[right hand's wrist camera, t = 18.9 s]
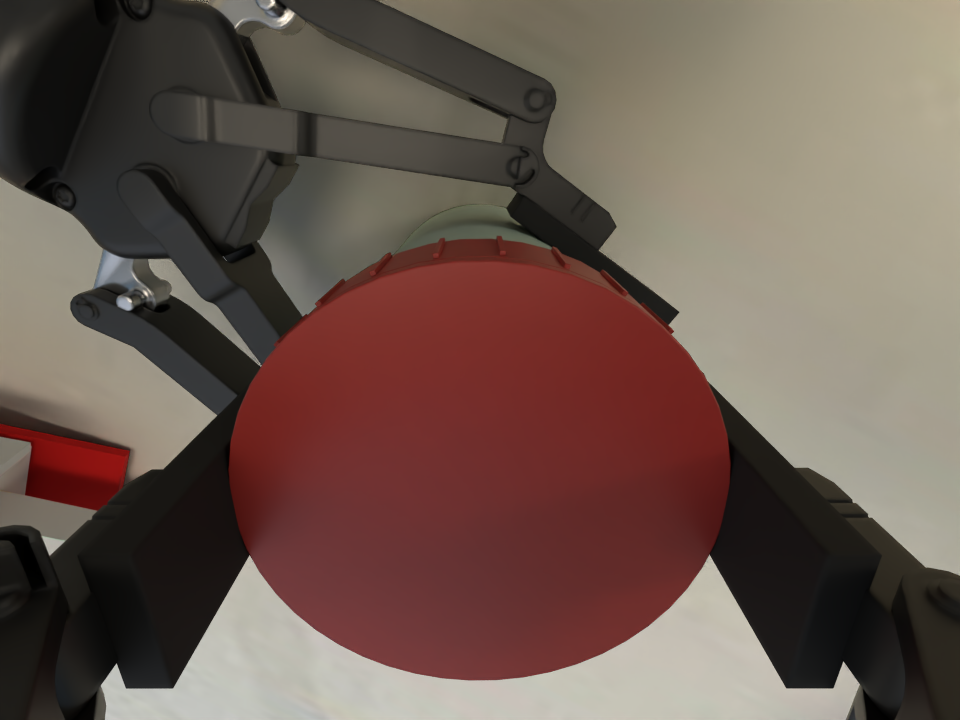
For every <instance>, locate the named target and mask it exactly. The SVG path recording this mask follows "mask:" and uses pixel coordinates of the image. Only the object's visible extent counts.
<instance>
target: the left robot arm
mask: <svg viewBox="0 0 960 720" xmlns="http://www.w3.org/2000/svg"><path fill="white" fill-rule="evenodd" d="M306 22H307V23H308V24H309V25H311V26H312V27H313V28H315V29H316V30H318V31H319V32H321V33H322V34H324V35H325V36H326V37H328V38H330V39H332V40H334V41H336V42H338V43H339V44H341V45H344V46H346V47H348V48H350V49H352V50H355V51H357V52H359V53H361V54H364V55H366V56H368V57H370V58H373V59H375V60H377V61H379V62H381V63H384V64H386V65H388V66H390V67H393V68H395V69H397V70H399V71H401V72H404V73H406V74H408V75H410V76H413V77H415V78H417V79H419V80H422V81H424V82H426V83H428V84H430V85H433V86H435V87H437V88H439V89H442V90H444V91H446V92H448V93H451V94H453V95H455V96H457V97H459V98H462V99H464V100H466V101H468V102H471V103H473V104H475V105H477V106H479V107H482V108H484V109H486V110H488V111H491V112H493V113H495V114H497V115H500V116H502V117H504V118H506V119H508V120H507V124H506V128H505V132H504V135H503V139H502V143H497V142H491V141H485V140H478V139H472V138H466V137H459V136H453V135H447V134H440V133H434V132H427V131H421V130H415V129H408V128H402V127H396V126H389V125H383V124H377V123H370V122H364V121H358V120H351V119H345V118H339V117H332V116H326V115H320V114H314V113H308V112H303V111H297V110H291V109H284V108H281V106H280V104H279V102H278V99H277V97H276V95H275V93H274V90H273V88H272V86H271V84H270V81H269V79H268V77H267V74H266V72H265V70H264V68H263V65H262V63H261V61H260V59H259V56H258V54H257V52H256V50H255V47H254V45H253V43H252V41H251V39H250V36H251V34H252V33H253V32H254V31H256V30H258V29H259V28H270V29H273V30H274V31H276V32H278V33H280V34H282V35H286V36H290V35H294V34H296V33H298V32H299V31H300V30H301V29H302V28H303V26H304V25H305V23H306ZM555 104H556V93H555V90H554V88H553V86H552V85H551V83H549V82H548V81H547V80H545V79H544V78H542V77H540V76H538V75H535V74H533V73H531V72H529V71H527V70H525V69H522V68H520V67H518V66H516V65H514V64H512V63H510V62H507V61H505V60H503V59H501V58H499V57H497V56H495V55H492V54H490V53H488V52H486V51H484V50H482V49H480V48H477V47H475V46H473V45H471V44H469V43H467V42H464V41H462V40H460V39H458V38H456V37H454V36H452V35H449V34H447V33H445V32H443V31H441V30H439V29H437V28H434V27H432V26H430V25H428V24H426V23H424V22H422V21H419V20H417V19H415V18H413V17H411V16H409V15H406V14H404V13H402V12H400V11H398V10H396V9H394V8H391V7H389V6H387V5H385V4H383V3H381V2H379V1H376V0H210V1H209V3H208V4H206V3H202V2H198V1H189V0H0V178H2V179H4V180H5V181H7V182H9V183H10V184H12V185H14V186H15V187H17V188H19V189H21V190H23V191H25V192H27V193H29V194H31V195H33V196H35V197H37V198H39V199H42V200H44V201H46V202H48V203H51V204H53V205H55V206H57V207H59V208H61V209H63V210H65V211H67V212H69V213H70V214H72V215H73V216H74V217H75V218H76V219H77V220H78V221H79V222H80V223H81V224H82V225H83V226H84V227H85V228H86V229H87V231H88V232H89V233H90V235H91V236H92V237H93V239H94V240H95V241H96V242H97V243H98V245H99V246H101V247H102V248H103V253H102V257H101V261H100V265H99V269H98V272H97V276H96V280H95V284H94V287H93V289H92V290H89V291H86V292H83V293H80V294H78V295H76V296H75V297H73V299H72V301H71V311H72V314H73V316H74V317H75V318H76V319H77V321H78V322H80V323H82V324H83V325H85V326H87V327H89V328H91V329H94V330H96V331H98V332H101V333H103V334H105V335H107V336H110V337H112V338H114V339H117V340H119V341H121V342H123V343H126V344H128V345H130V346H132V347H134V348H135V349H137V350H138V351H139V352H140V353H142V354H143V355H144V356H145V357H146V358H148V359H149V360H150V361H151V362H153V363H154V364H155V365H156V366H157V367H159V368H160V369H161V370H162V371H164V372H165V373H166V374H167V375H169V376H170V377H171V378H172V379H173V380H175V381H176V382H177V383H178V384H180V385H181V386H182V387H183V388H184V389H186V390H187V391H188V392H189V393H191V394H192V395H193V396H194V397H196V398H197V399H198V400H199V401H200V402H202V403H203V404H204V405H205V406H207V407H208V408H209V409H210V410H212V411H213V412H214V413H215V414H216V415H219V414H220V413H221V412H222V411H223V410H224V409H225V408H226V407H227V406H228V405H229V404H230V403H231V402H232V401H233V400H234V399H235V398H236V397H237V396H238V395H239V394H240V393H241V392H242V391H243V390H244V389H245V388H246V387H247V386H248V385H249V384H250V383H251V382H252V380H253V379H254V377H255V376H256V374H257V373H258V371H259V369H260V368H261V367H260V366H259V365H258V364H257V363H255V362H254V361H253V360H252V359H251V358H250V357H249V356H247V355H246V354H245V353H244V352H243V351H242V350H240V349H239V348H238V347H237V346H236V345H235V344H234V343H232V342H231V341H230V340H229V339H228V338H227V337H226V336H224V335H223V334H222V333H221V332H220V331H219V330H218V329H216V328H215V327H214V326H213V325H212V324H211V323H210V322H208V321H207V320H206V319H205V318H204V317H203V316H201V315H200V314H199V313H198V312H196V311H195V310H194V309H193V308H191V307H190V306H189V305H187V304H185V303H184V302H182V301H181V300H179V299H177V298H175V297H173V296H172V295H170V292H171V291H172V287H171V284H170V283H169V282H168V281H166V280H161V279H159V278H158V277H157V276H155V275H154V273H153V272H152V271H151V269H150V267H149V263H148V259H172V260H173V262H174V263H175V264H176V266H177V267H178V268H179V270H180V271H181V272H182V274H183V275H184V276H185V278H186V279H187V280H188V282H189V283H190V284H191V285H192V287H193V288H194V289H195V291H196V292H197V293H198V294H199V295H200V296H201V298H203V299H204V300H206V301H208V302H211V303H214V304H215V305H217V306H218V308H219V309H220V310H221V311H222V313H223V314H224V315H225V317H226V318H227V319H228V321H229V322H230V323H231V325H232V326H233V327H234V329H235V330H236V331H237V333H238V334H239V335H240V337H241V338H242V339H243V341H244V342H245V343H246V345H247V346H248V347H249V349H250V350H251V351H252V353H253V354H254V355H255V357H256V358H257V359H258V361H259V362H260V363H261V365H263V363H264V362H265V360H266V358H267V357H268V356H269V355H270V354H271V353H272V351H273V350H274V349H275V348H276V347H275V346H274V344H275V342H276V341H277V340H278V339H280V338H281V337H282V336H283V335H284V334H285V333H286V332H287V331H288V330H289V329H290V328H292V327H293V326H294V325H295V324H296V323H297V322H298V321H299V320H300V319H301V318H302V315H301V314H300V312H299V311H298V310H297V308H296V307H295V305H294V304H293V302H292V301H291V299H290V298H289V297H288V295H287V294H286V292H285V291H284V289H283V288H282V287H281V285H280V284H279V282H278V281H277V279H276V278H275V276H274V275H273V273H272V268H271V263H270V260H269V258H268V257H267V255H266V254H265V252H264V251H263V249H262V248H261V246H260V245H259V243H258V242H257V240H260V238H261V236H262V234H263V232H264V231H265V229H266V227H267V225H268V223H269V220H270V215H271V210H272V205H273V201H274V199H275V198H276V197H277V196H278V195H279V194H280V193H281V192H282V191H283V190H284V189H285V188H286V187H287V186H288V185H289V184H290V182H291V180H292V178H293V176H294V174H295V172H296V170H297V169H298V167H299V165H298V164H297V163H295V158H296V155H300V156H309V157H317V158H324V159H331V160H337V161H344V162H350V163H357V164H363V165H370V166H376V167H383V168H389V169H396V170H402V171H409V172H416V173H422V174H429V175H435V176H442V177H448V178H455V179H461V180H468V181H474V182H481V183H487V184H494V185H500V186H507V187H511V188H512V189H514V190H515V191H516V192H517V194H516V195H515V197H514V198H513V200H512V201H511V202H510V204H509V205H508V207H507V208H506V209H507V211H508V213H509V215H510V217H511V218H513V219H514V220H515V221H517V222H518V223H519V224H521V225H522V226H524V227H525V228H526V229H528V230H529V231H530V232H532V233H533V234H535V235H536V236H537V237H539V238H540V239H541V240H543V241H544V242H545V243H547V244H548V245H550V246H551V247H556V248H557V249H558V250H559V251H560V252H561V253H562V254H564V255H566V256H569V257H571V258H573V259H576V260H578V261H581V262H583V263H584V264H586V265H588V266H589V267H591V268H593V269H595V270H596V271H598V272H601V270H604V271H606V272H607V273H608V274H609V275H610V276H611V277H612V278H613V279H614V280H616V281H617V282H618V283H619V284H620V285H621V286H622V287H623V288H624V289H625V290H626V291H627V292H628V294H629V295H630V296H631V297H633V298H634V299H635V300H636V301H637V302H638V303H639V304H641V303H642V302H643V303H644V304H645V305H646V306H647V307H649V308H650V309H651V310H652V311H653V312H654V313H655V314H656V315H657V316H658V317H660V318H661V319H662V320H663V321H664V322H665V323H666V324H667V325H669V324H670V322H671V321H672V320H673V319H674V318H675V317H676V316H677V314H678V313H679V311H677V310H676V309H675V308H674V307H672V306H671V305H670V304H669V303H667V302H666V301H665V300H663V299H662V298H661V297H660V296H658V295H657V294H656V293H655V292H653V291H652V290H651V289H649V288H648V287H647V286H645V285H644V284H643V283H641V282H640V281H639V280H637V279H636V278H635V277H633V276H632V275H631V274H629V273H628V272H627V271H625V270H624V269H622V268H621V267H620V266H618V265H617V264H616V263H614V262H613V261H612V260H610V259H609V258H608V257H606V256H605V255H604V254H602V253H601V252H600V251H598V250H599V249H600V248H601V246H602V245H603V244H604V242H605V241H606V240H607V239H608V237H609V236H610V235H611V233H612V232H613V231H614V230H615V228H616V225H615V223H614V221H613V219H612V217H611V216H610V214H609V212H607V211H606V210H605V209H604V208H602V207H601V206H600V205H598V204H597V203H596V202H594V201H593V200H592V199H591V198H589V197H588V196H587V195H585V194H584V193H583V192H582V191H580V190H579V189H578V188H576V187H575V186H574V185H572V184H571V183H570V182H569V181H567V180H566V179H565V178H563V177H562V176H561V175H560V174H558V173H557V172H556V171H554V170H553V169H552V168H551V167H550V166H549V165H548V163H547V162H546V160H545V157H544V154H543V142H544V138H545V134H546V131H547V127H548V124H549V120H550V117H551V113H552V112H553V110H554V109H555ZM223 256H224V257H225V258H226V260H227V261H226V260H225V259H224V258H223Z"/></svg>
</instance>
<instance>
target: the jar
mask: <svg viewBox="0 0 960 720" xmlns="http://www.w3.org/2000/svg"><path fill="white" fill-rule="evenodd" d="M497 236H502V239H503V240H507V241H516V242H524V243H527V244H531V245H535V246H539V247H543V248H547V249H552V247H551V246H550V245H548V244H547V243H545V242H544V241H543V240H541V239H540V238H539V237H537V236H536V235H535V234H533V233H532V232H530V231H529V230H528V229H526V228H525V227H524V226H522V225H521V224H519V223H518V222H517V221H515V220H514V219H513V218H511V217H510V215H509V213H508V211H507V209H506V208H505V207H500V206H495V205H485V204H474V205H464V206H460V207H455V208H452V209H449V210H446V211H444V212H441V213H439V214H437V215H436V216H434V217H432V218H430V219H429V220H427V221H426V222H425V223H423V224H422V225H421V226H419V227H418V228H417V229H416V230H415V231H414V232H413V233H412V234H411V235H410V237H409V238H408V239H407V240H406V241H405V242H404V243H403V245H402V246H401V247H400V248H399V249H398V250H397V252H396V253H395V254H397V253H399V252H403V251H406V250H410V249H413V248H416V247H420V246H423V245H427V244H431V243H438V241H439V239H440V238H445V241H451V240H458V239H496V238H497ZM395 254H394V255H395Z"/></svg>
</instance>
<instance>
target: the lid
mask: <svg viewBox="0 0 960 720" xmlns="http://www.w3.org/2000/svg"><path fill="white" fill-rule="evenodd" d="M315 305H316V306H317V307H316V308H315V309H314V310H313V311H312V312H311V313H310V314H309V315H307V314H306V315H305V316H303V317H302V318H301V319H300V320H299V321H298V322H297V323H296V324H295V325H294V326H293V327H292V328H290V329H289V330H288V331H287V332H286V333H285V334H284V335H283V336H282V337H281V338H280V339H278V340H277V341H276V342H275V344H274V346H275V347H276V348H275V349H274V350H273V351H272V353H271V354H270V355H269V356H268V357H267V358H266V360H265V362H264V363H263V365H262V366H261V368H260V369H259V371H258V373H257V374H256V376H255V377H254V379H253V380H252V382H251V384H250V385H249V388H248V390H247V392H246V395H245V397H244V399H243V402H242V404H241V406H240V409H239V411H238V414H237V418H236V422H235V426H234V430H233V434H232V438H231V444H230V455H229V467H228V472H229V484H230V489H231V494H232V499H233V504H234V508H235V513H236V518H237V522H238V527H239V530H240V534H241V536H242V539H243V541H244V544H245V547H246V549H247V551H248V553H249V554H250V556H251V558H252V560H253V561H254V563H255V565H256V567H257V568H258V570H259V572H260V573H261V575H262V576H263V577H264V579H265V580H266V581H267V582H268V584H269V585H270V586H271V588H272V589H273V590H274V592H275V593H276V594H277V595H278V596H279V597H280V598H281V599H282V600H283V601H284V602H285V603H286V604H287V605H288V606H289V607H290V608H291V610H292V611H293V612H294V613H296V614H297V615H298V616H299V617H301V618H302V619H303V620H304V621H305V622H307V623H308V624H309V625H310V626H312V627H313V628H314V629H315V630H317V631H318V632H320V633H322V634H323V635H325V636H326V637H328V638H329V639H331V640H333V641H334V642H336V643H337V644H339V645H341V646H343V647H345V648H347V649H349V650H351V651H353V652H355V653H357V654H359V655H361V656H363V657H365V658H368V659H371V660H373V661H376V662H379V663H381V664H384V665H386V666H389V667H393V668H397V669H400V670H404V671H408V672H411V673H415V674H421V675H427V676H432V677H438V678H446V679H459V680H502V679H511V678H521V677H527V676H532V675H538V674H543V673H548V672H552V671H555V670H559V669H562V668H565V667H569V666H572V665H576V664H578V663H581V662H583V661H586V660H588V659H591V658H593V657H596V656H598V655H600V654H603V653H605V652H606V651H608V650H610V649H612V648H614V647H616V646H618V645H620V644H622V643H623V642H625V641H627V640H628V639H630V638H631V637H633V636H634V635H636V634H637V633H639V632H640V631H642V630H643V629H645V628H646V627H648V626H649V625H650V624H651V623H652V622H654V621H655V620H656V619H657V618H658V617H660V616H661V615H662V614H663V613H664V612H665V611H667V610H668V609H669V608H670V607H671V606H672V605H673V604H674V602H675V601H676V600H677V599H678V598H679V597H680V596H681V595H682V594H683V593H684V592H685V591H686V589H687V588H688V587H689V585H690V584H691V583H692V581H693V580H694V578H695V577H696V576H697V574H698V573H699V571H700V570H701V569H702V567H703V565H704V564H705V562H706V560H707V558H708V556H709V554H710V552H711V550H712V548H713V547H714V545H715V542H716V540H717V537H718V534H719V531H720V527H721V523H722V519H723V514H724V509H725V505H726V500H727V495H728V491H729V485H730V468H731V462H730V453H729V445H728V437H727V432H726V428H725V425H724V422H723V418H722V415H721V411H720V408H719V405H718V403H717V401H716V399H715V397H714V394H713V392H712V390H711V388H710V386H709V384H708V382H707V380H706V378H705V375H704V373H703V372H702V371H701V370H700V369H699V368H698V366H697V365H696V363H695V362H694V360H693V359H692V357H691V356H690V354H689V353H688V352H687V351H686V350H685V349H684V347H683V346H682V345H681V344H680V343H679V342H678V341H677V340H676V339H675V338H674V337H673V336H672V335H671V334H672V333H673V332H674V331H673V329H672V328H671V327H670V326H668V325H667V324H666V323H665V322H664V321H663V320H662V319H661V318H660V317H658V316H657V315H656V314H655V313H654V312H653V311H652V310H651V309H650V308H649V307H647V306H646V305H645V304H644V303H643V302H642V303H641V304H639V303H638V302H637V301H636V300H635V299H634V298H633V297H631V296H630V295H629V294H628V292H627V291H626V290H625V289H624V288H623V287H622V286H621V285H620V284H619V283H618V282H617V281H616V280H614V279H613V278H612V277H611V276H610V275H609V274H608V273H607V272H606V271H604V270H601V272H598V271H596V270H595V269H593V268H591V267H589V266H588V265H586V264H584V263H583V262H581V261H578V260H576V259H573V258H571V257H569V256H566V255H564V254H562V253H561V252H560V251H559V250H558V249H557V248H556V247H552V249H547V248H543V247H539V246H535V245H531V244H527V243H524V242H516V241H507V240H503V239H502V236H497V238H496V239H458V240H451V241H445V238H440V239H439V241H438V243H431V244H427V245H423V246H420V247H416V248H413V249H410V250H406V251H403V252H399V253H397V254H395V255H393V256H392V255H391V253H387V254H386V255H385V256H384V257H383V258H382V259H381V260H380V261H379V262H377V263H375V264H373V265H371V266H369V267H368V268H366V269H364V270H363V271H361V272H360V273H358V274H356V275H355V276H353V277H352V278H350V279H348V280H347V281H346V282H345V280H344V279H342V280H341V281H339V282H338V283H337V284H336V285H335V286H334V287H333V288H332V289H331V290H329V291H328V292H327V293H326V294H325V295H324V296H323V297H322V298H321V299H320V300H318V301H317V302H316V303H315Z"/></svg>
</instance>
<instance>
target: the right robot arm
mask: <svg viewBox="0 0 960 720" xmlns="http://www.w3.org/2000/svg"><path fill="white" fill-rule="evenodd" d="M707 382H708V381H707ZM250 384H251V383H250ZM250 384H249V385H250ZM708 384H709V386H710V388H711V390H712V392H713V394H714V397H715V399H716V401H717V403H718V405H719V408H720V411H721V415H722V418H723V422H724V425H725V428H726V432H727V437H728V445H729V453H730V462H731V468H730V485H729V491H728V495H727V500H726V505H725V509H724V514H723V519H722V523H721V527H720V531H719V534H718V537H717V540H716V542H715V545H714V547H713V548H712V550H711V552H710V556H711V558H712V560H713V561H714V563H715V565H716V566H717V568H718V570H719V572H720V573H721V575H722V577H723V579H724V580H725V582H726V584H727V586H728V587H729V589H730V591H731V593H732V594H733V596H734V598H735V600H736V601H737V603H738V605H739V607H740V608H741V610H742V612H743V614H744V615H745V617H746V619H747V620H748V622H749V624H750V626H751V627H752V629H753V631H754V633H755V634H756V636H757V638H758V640H759V641H760V643H761V645H762V647H763V648H764V650H765V652H766V654H767V655H768V657H769V659H770V661H771V662H772V664H773V666H774V668H775V669H776V671H777V673H778V675H779V676H780V678H781V680H782V681H783V683H784V685H785V687H786V688H834V685H835V682H836V680H837V677H838V674H839V671H840V669H841V666H842V663H843V661H844V663H845V664H846V665H847V667H848V668H849V670H850V671H851V672H852V674H853V675H854V677H855V678H856V679H857V681H858V682H859V684H860V686H859V688H858V691H857V693H856V696H855V698H854V701H853V703H852V706H851V708H850V711H849V714H848V716H847V719H846V720H960V576H959V575H956V574H954V573H951V572H948V571H943V570H938V569H933V568H926V567H924V566H923V565H922V564H921V563H920V562H919V561H918V560H917V559H916V558H915V557H914V556H913V555H911V554H910V553H909V552H908V551H907V550H906V549H905V548H904V547H903V546H902V545H901V544H900V543H899V542H897V541H896V540H895V539H894V538H893V537H892V536H891V535H890V534H889V533H888V532H887V531H886V530H885V529H883V528H882V527H881V526H880V525H879V524H878V523H877V522H876V521H875V520H874V519H873V518H869V517H868V514H867V513H866V512H865V511H864V510H863V509H862V508H861V507H860V506H859V505H858V504H856V503H853V502H852V499H851V498H850V497H849V496H848V495H847V494H846V493H845V492H844V491H842V490H841V489H840V488H839V487H838V486H837V485H836V484H835V483H834V482H832V481H830V480H829V479H827V478H825V477H823V476H822V475H820V474H818V473H816V472H814V471H813V470H811V469H809V468H794V467H793V466H792V465H791V464H790V463H789V462H788V461H787V460H786V459H785V458H784V457H783V456H782V455H781V454H780V453H779V452H778V451H777V450H776V449H775V448H774V447H773V446H772V445H771V444H770V443H769V442H768V441H767V440H766V439H765V438H764V437H763V436H762V435H761V434H760V433H759V432H758V431H757V430H756V429H755V428H754V427H753V426H752V425H751V424H750V423H749V422H748V421H747V420H746V419H745V418H744V417H743V416H742V415H741V414H740V413H739V412H738V411H737V410H736V409H735V408H734V407H733V406H732V405H731V404H730V403H729V402H728V401H727V400H726V399H725V398H724V397H723V396H722V395H721V394H720V393H719V392H718V391H717V390H716V389H715V388H714V387H713V386H712V385H711V384H710V383H709V382H708ZM249 385H248V386H247V387H246V388H245V389H244V390H243V391H242V392H241V393H240V394H239V395H238V396H237V397H236V398H235V399H234V400H233V401H232V402H231V403H230V404H229V405H228V406H227V407H226V408H225V409H224V410H223V411H222V412H221V413H220V414H219V415H218V416H217V417H216V418H215V419H214V420H213V421H212V422H211V423H210V424H209V425H208V426H207V427H206V428H205V429H204V430H203V431H202V432H201V433H200V434H199V435H198V436H197V437H195V438H194V439H193V440H192V441H191V442H190V443H189V444H188V445H187V446H186V447H185V448H184V449H183V450H182V451H181V452H180V453H179V454H178V455H177V456H176V457H175V458H174V459H173V460H172V461H171V462H170V463H169V464H168V465H167V466H166V467H165V468H164V469H163V470H150V471H148V472H147V473H145V474H143V475H141V476H140V477H138V478H136V479H134V480H133V481H131V482H129V483H128V484H126V485H125V486H124V487H123V488H122V489H121V490H119V491H118V492H117V493H116V494H115V495H114V496H113V497H112V498H111V499H110V500H109V501H108V503H107V505H103V506H102V507H101V508H100V509H99V510H98V511H97V512H96V513H95V514H94V515H93V516H92V519H91V520H87V521H86V522H85V523H84V524H83V525H82V526H81V527H80V528H79V529H78V530H77V531H75V532H74V533H73V534H72V535H71V536H70V537H69V538H68V539H67V540H66V541H65V542H64V543H63V544H62V545H60V546H59V547H58V548H57V549H56V550H55V551H54V552H53V553H52V554H51V555H50V556H49V553H48V551H47V548H46V546H45V543H44V541H43V538H42V536H41V533H40V531H39V530H37V529H35V528H34V527H32V526H27V525H10V526H4V527H0V720H105V711H106V702H105V697H104V693H103V691H102V688H101V684H102V683H103V681H104V680H105V679H106V677H107V676H108V674H109V673H110V672H111V670H112V669H113V667H114V666H115V665H116V663H117V665H118V668H119V671H120V673H121V676H122V679H123V681H124V684H125V687H126V688H174V686H175V684H176V682H177V681H178V679H179V677H180V675H181V674H182V672H183V670H184V668H185V667H186V665H187V663H188V661H189V660H190V658H191V656H192V654H193V653H194V651H195V649H196V647H197V646H198V644H199V642H200V640H201V639H202V637H203V635H204V633H205V632H206V630H207V628H208V627H209V625H210V623H211V621H212V620H213V618H214V616H215V614H216V613H217V611H218V609H219V607H220V606H221V604H222V602H223V600H224V599H225V597H226V595H227V593H228V592H229V590H230V588H231V586H232V585H233V583H234V581H235V579H236V578H237V576H238V574H239V573H240V571H241V569H242V567H243V566H244V564H245V562H246V560H247V559H248V557H249V555H250V554H249V553H248V551H247V549H246V547H245V544H244V541H243V539H242V536H241V534H240V530H239V527H238V522H237V518H236V513H235V508H234V504H233V499H232V494H231V489H230V484H229V472H228V467H229V455H230V444H231V438H232V434H233V430H234V426H235V422H236V418H237V414H238V411H239V409H240V406H241V404H242V402H243V399H244V397H245V395H246V392H247V390H248V388H249Z"/></svg>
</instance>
